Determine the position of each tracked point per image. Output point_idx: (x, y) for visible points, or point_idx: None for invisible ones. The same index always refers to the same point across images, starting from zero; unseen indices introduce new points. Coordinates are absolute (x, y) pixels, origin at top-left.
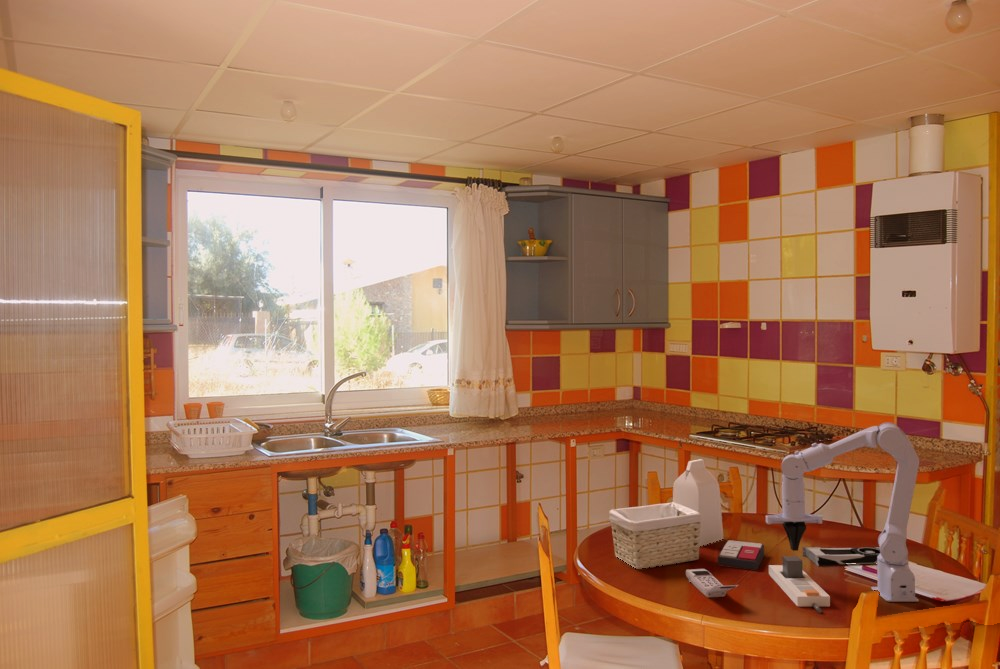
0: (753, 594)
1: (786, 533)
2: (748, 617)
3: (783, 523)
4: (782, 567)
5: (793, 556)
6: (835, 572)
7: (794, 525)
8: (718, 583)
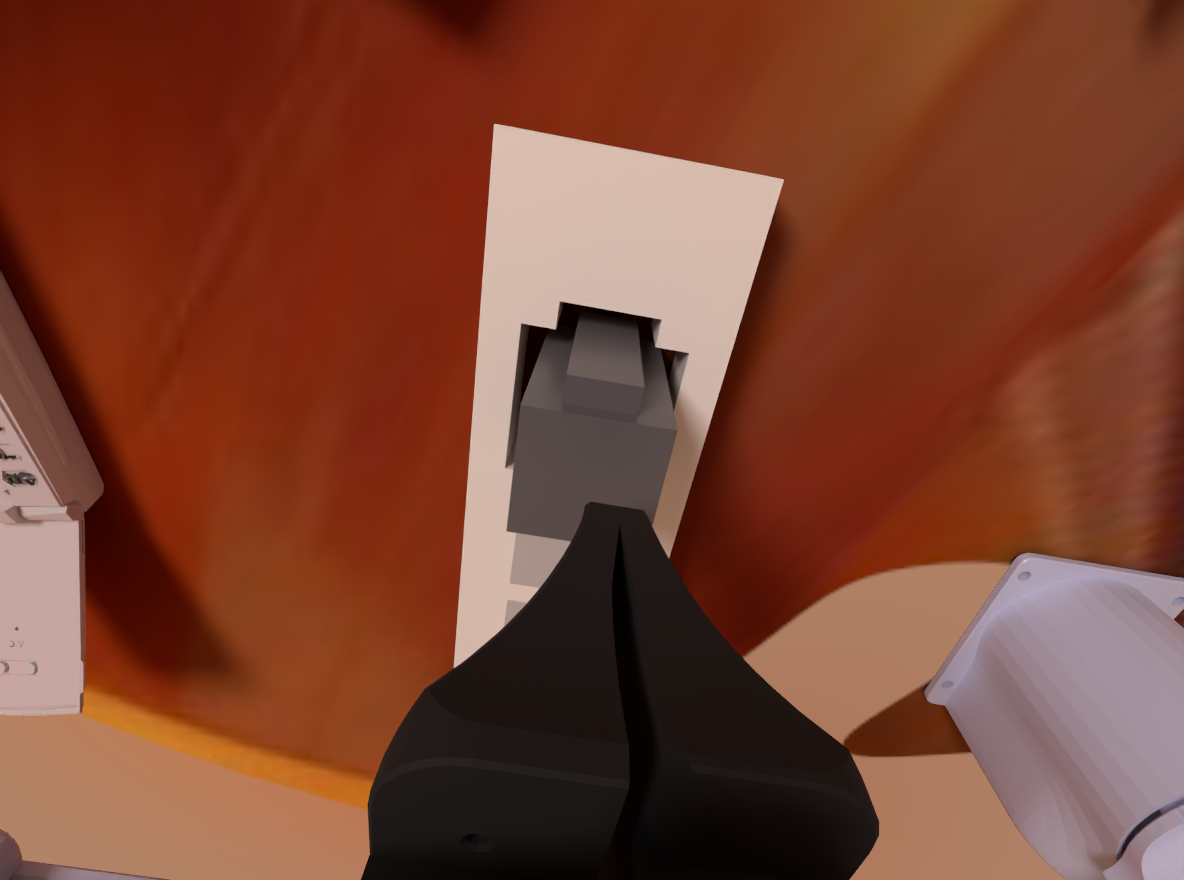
0: (280, 495)
1: (524, 609)
2: (209, 703)
3: (371, 875)
4: (599, 223)
5: (630, 436)
6: (1110, 199)
7: (616, 868)
8: (12, 444)
